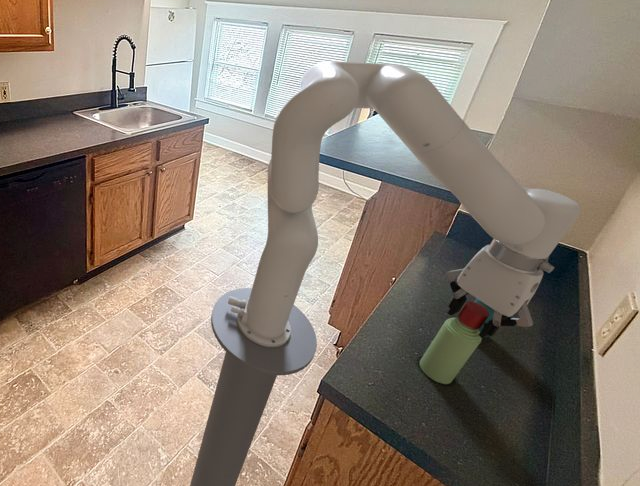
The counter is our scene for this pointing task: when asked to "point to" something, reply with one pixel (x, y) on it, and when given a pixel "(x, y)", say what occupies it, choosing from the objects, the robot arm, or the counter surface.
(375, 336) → the counter surface
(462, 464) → the counter surface
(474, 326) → the cap
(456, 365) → the sauce bottle
